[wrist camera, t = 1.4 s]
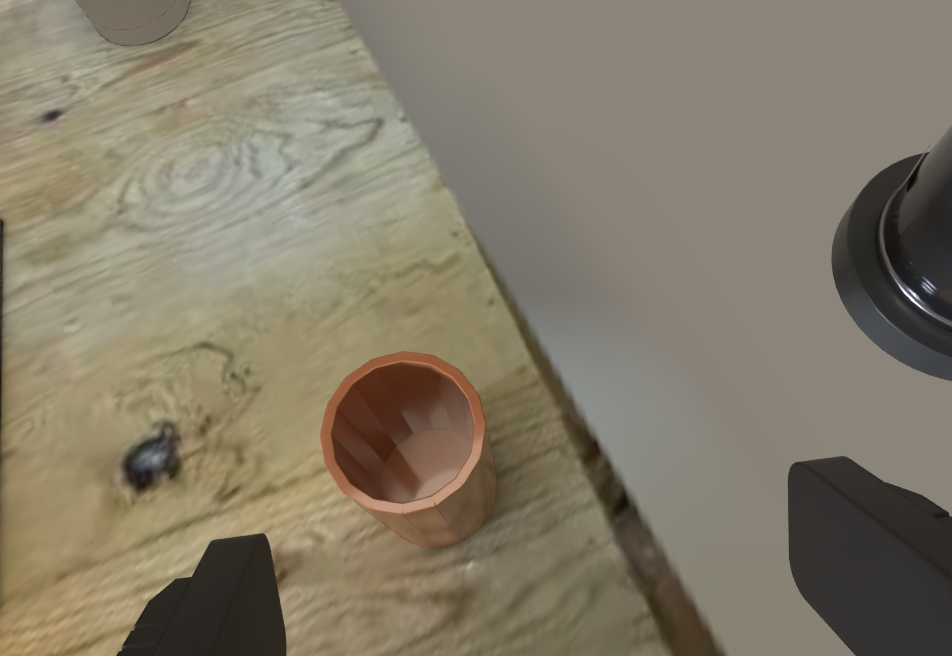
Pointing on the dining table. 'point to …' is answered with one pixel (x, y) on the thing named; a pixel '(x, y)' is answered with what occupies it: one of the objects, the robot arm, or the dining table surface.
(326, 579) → the dining table surface
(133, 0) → the cup
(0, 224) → the stove
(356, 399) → the cup
